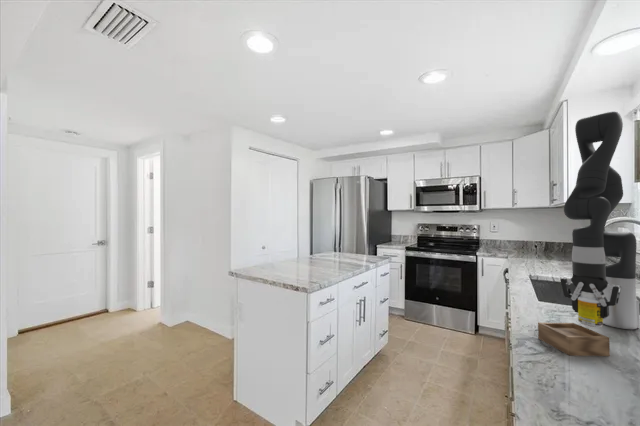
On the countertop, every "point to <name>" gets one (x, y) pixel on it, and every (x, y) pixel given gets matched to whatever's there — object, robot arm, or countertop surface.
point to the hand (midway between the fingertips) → (590, 314)
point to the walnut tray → (574, 339)
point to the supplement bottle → (589, 310)
